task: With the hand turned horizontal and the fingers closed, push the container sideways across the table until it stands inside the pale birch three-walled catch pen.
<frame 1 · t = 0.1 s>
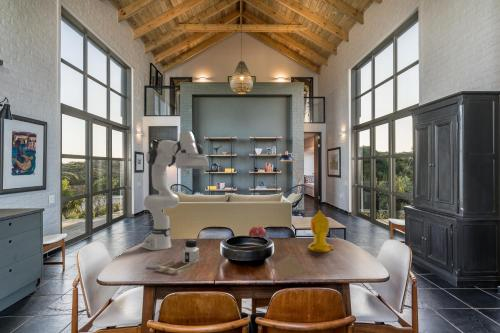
hand: (195, 174, 167), 54 cm above the table, tool tilted 30°, fingers open, 8 cm apart
model pyramid: (289, 271, 163), on the table
catch pen: (174, 268, 164), on the table
container: (190, 261, 178), on the table
decorative mushroom: (257, 246, 216), on the table
slate tile: (153, 268, 167), on the table
yellow statue: (321, 249, 209), on the table
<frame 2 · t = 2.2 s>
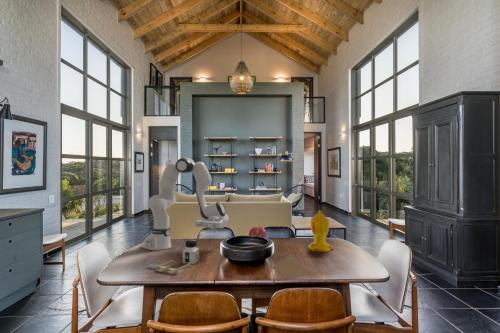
hand: (202, 225, 189), 20 cm above the table, tool horizontal, fingers open, 7 cm apart
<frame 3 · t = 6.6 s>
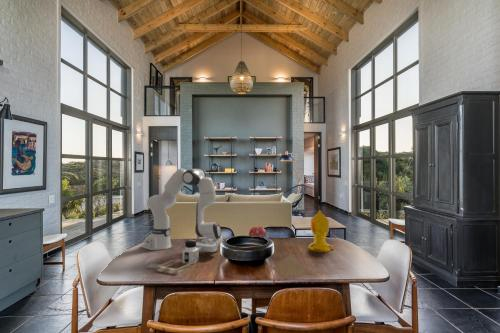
hand: (194, 249, 181), 6 cm above the table, tool horizontal, fingers closed
container: (190, 262, 177), on the table, touching gripper
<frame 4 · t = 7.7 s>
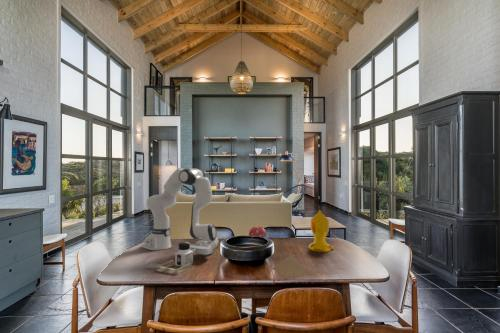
hand: (188, 252, 176), 7 cm above the table, tool horizontal, fingers closed, pressing on container
container: (184, 264, 172), on the table, touching gripper
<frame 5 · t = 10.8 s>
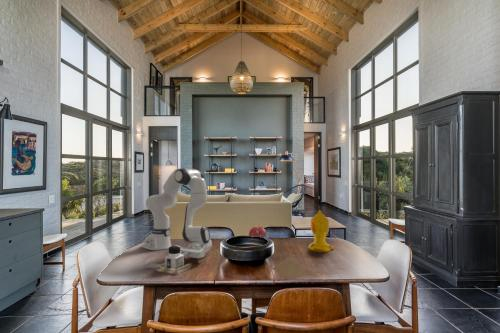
hand: (179, 255, 168), 6 cm above the table, tool horizontal, fingers closed
container: (174, 269, 164), on the table
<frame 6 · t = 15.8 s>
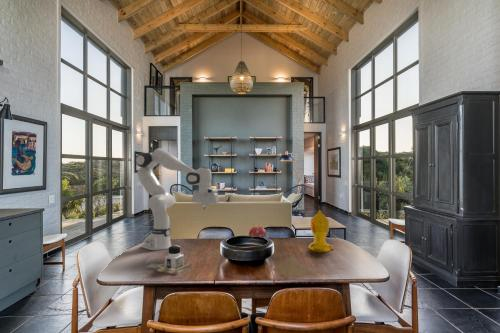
hand: (205, 209, 203), 29 cm above the table, tool pointing down, fingers closed
at the end: container inside the target area (0.2 cm from its centre), on the table; container tilted 0° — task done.
